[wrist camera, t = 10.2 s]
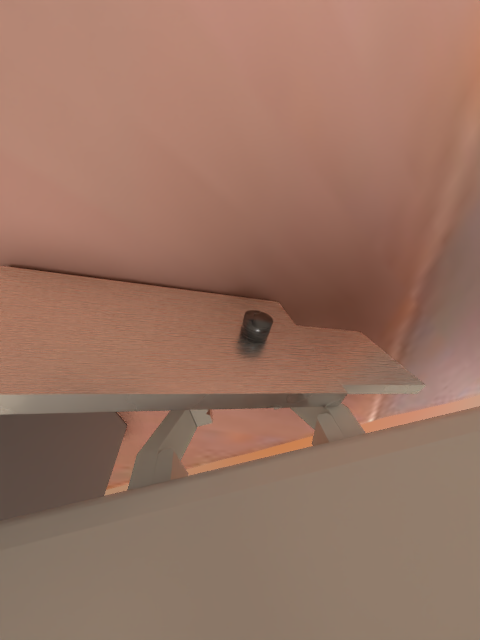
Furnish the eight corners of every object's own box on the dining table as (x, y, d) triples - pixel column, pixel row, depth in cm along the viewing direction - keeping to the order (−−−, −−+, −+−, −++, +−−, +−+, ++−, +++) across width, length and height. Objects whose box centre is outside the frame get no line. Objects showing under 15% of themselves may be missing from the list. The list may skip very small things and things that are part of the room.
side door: (-9, 245, 10) (-504, 352, 3) (340, 297, 15) (454, 377, 8) (5, 280, 10) (-349, 423, 4) (330, 317, 16) (426, 404, 9)
